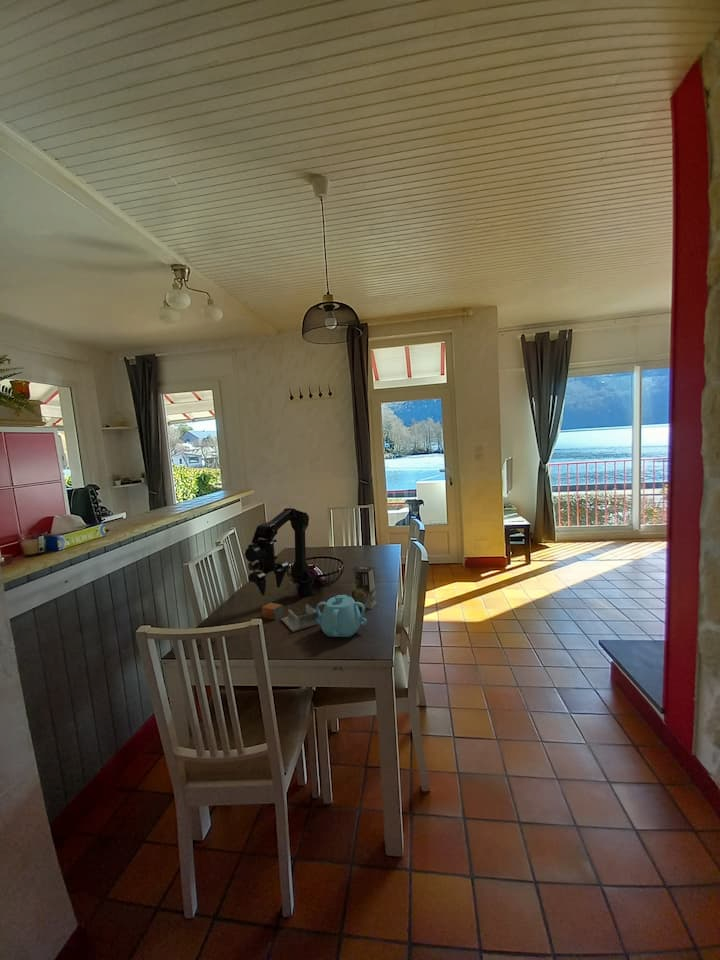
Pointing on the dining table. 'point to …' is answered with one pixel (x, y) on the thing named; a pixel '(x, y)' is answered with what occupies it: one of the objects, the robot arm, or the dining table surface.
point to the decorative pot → (340, 616)
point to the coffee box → (363, 586)
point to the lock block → (272, 611)
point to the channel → (301, 619)
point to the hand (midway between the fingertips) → (271, 591)
